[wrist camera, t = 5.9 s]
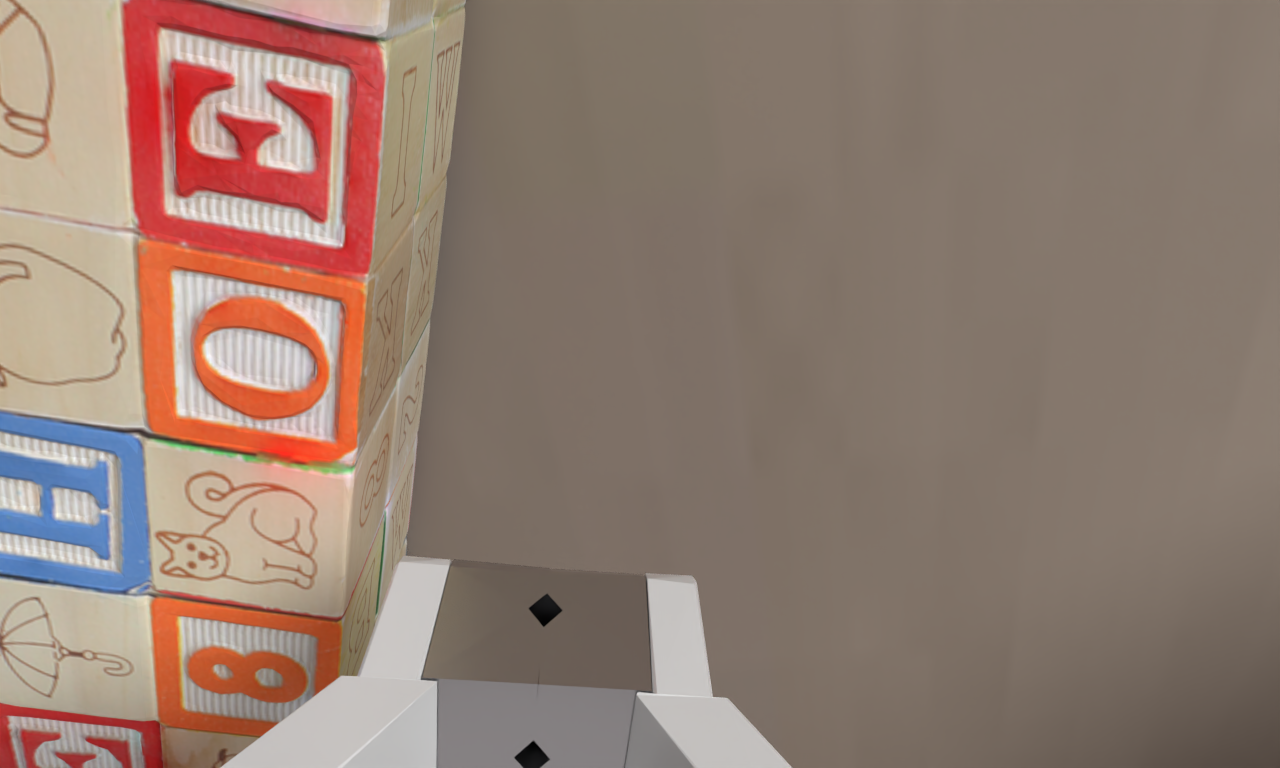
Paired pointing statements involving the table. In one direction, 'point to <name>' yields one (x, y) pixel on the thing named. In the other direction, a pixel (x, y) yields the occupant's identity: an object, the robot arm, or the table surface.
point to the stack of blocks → (207, 357)
